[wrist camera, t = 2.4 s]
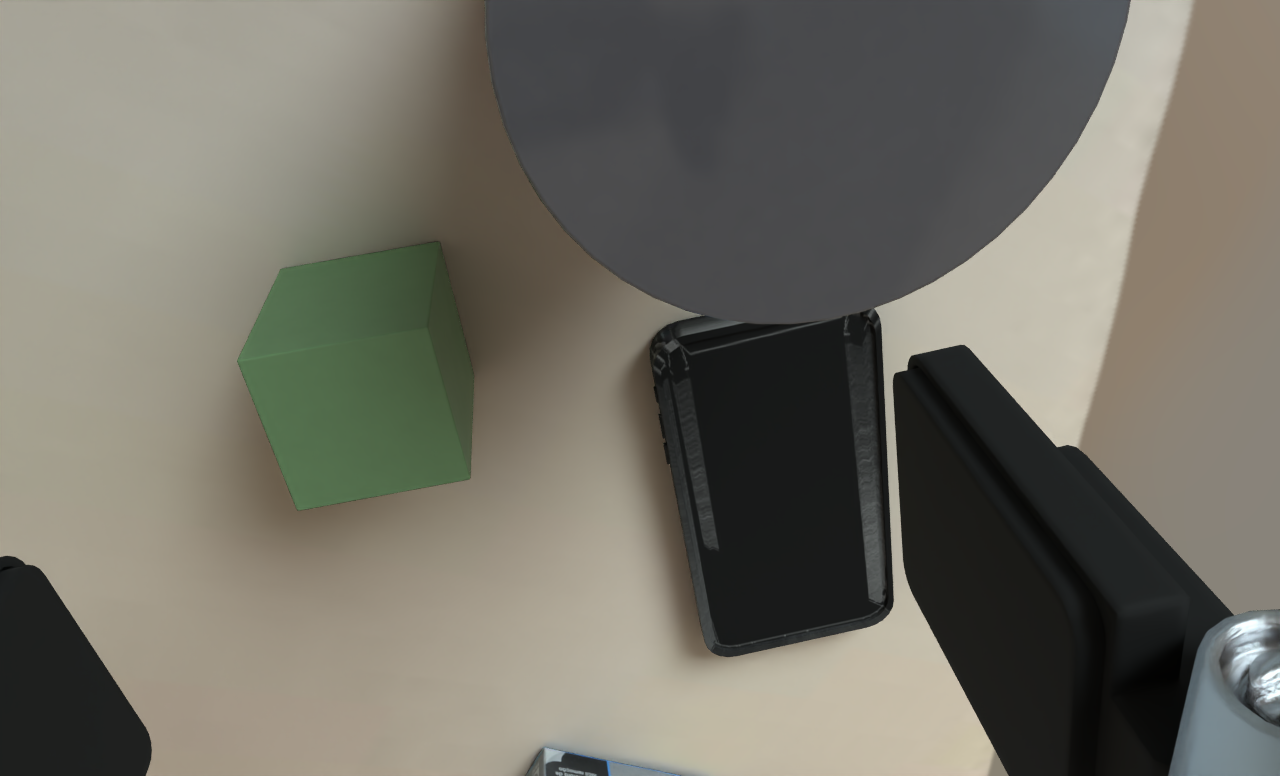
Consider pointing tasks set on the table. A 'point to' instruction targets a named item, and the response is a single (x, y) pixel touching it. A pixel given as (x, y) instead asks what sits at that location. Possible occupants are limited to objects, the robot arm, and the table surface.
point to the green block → (363, 376)
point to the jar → (793, 136)
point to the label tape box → (584, 766)
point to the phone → (778, 475)
